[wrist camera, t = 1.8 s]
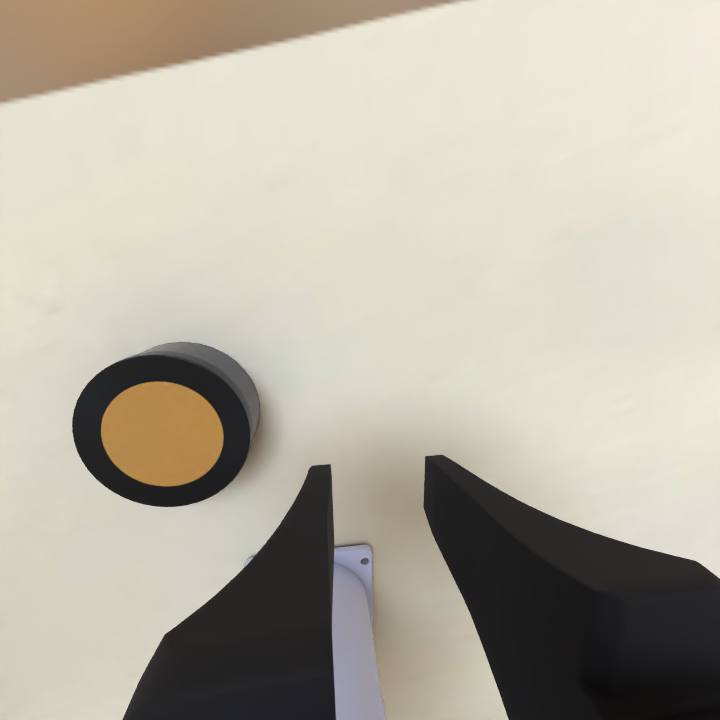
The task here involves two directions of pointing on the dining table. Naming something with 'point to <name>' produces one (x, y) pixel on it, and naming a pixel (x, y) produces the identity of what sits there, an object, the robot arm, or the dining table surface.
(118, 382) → the tin
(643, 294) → the dining table surface
